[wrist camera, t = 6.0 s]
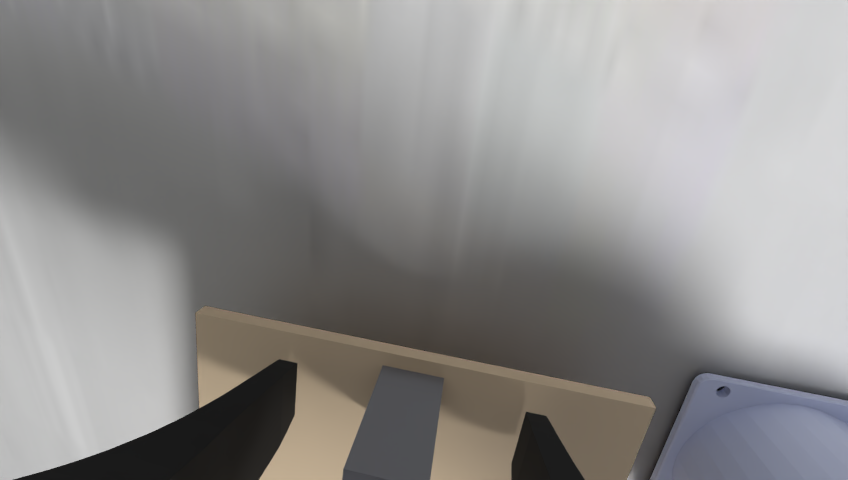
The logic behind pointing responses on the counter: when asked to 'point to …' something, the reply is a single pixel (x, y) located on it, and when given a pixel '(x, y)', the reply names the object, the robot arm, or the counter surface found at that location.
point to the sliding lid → (411, 406)
